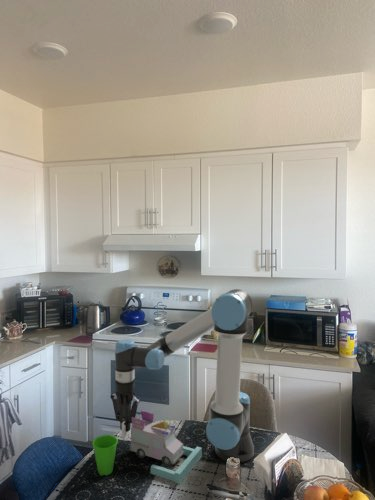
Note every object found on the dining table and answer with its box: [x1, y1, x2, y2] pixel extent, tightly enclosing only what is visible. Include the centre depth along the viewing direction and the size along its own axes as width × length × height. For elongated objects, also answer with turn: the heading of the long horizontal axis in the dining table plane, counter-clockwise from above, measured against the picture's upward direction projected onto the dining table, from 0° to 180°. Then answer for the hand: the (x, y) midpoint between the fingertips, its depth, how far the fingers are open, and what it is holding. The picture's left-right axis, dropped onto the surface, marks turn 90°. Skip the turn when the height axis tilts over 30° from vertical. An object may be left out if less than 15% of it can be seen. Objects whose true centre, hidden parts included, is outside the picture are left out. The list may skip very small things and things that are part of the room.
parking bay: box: [150, 445, 203, 485], centre depth 139 cm, size 12×18×4 cm, turn 153°
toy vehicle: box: [129, 410, 184, 467], centre depth 144 cm, size 9×20×15 cm, turn 63°
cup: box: [91, 434, 119, 476], centre depth 135 cm, size 9×9×11 cm
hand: (125, 438), depth 149 cm, fingers closed
